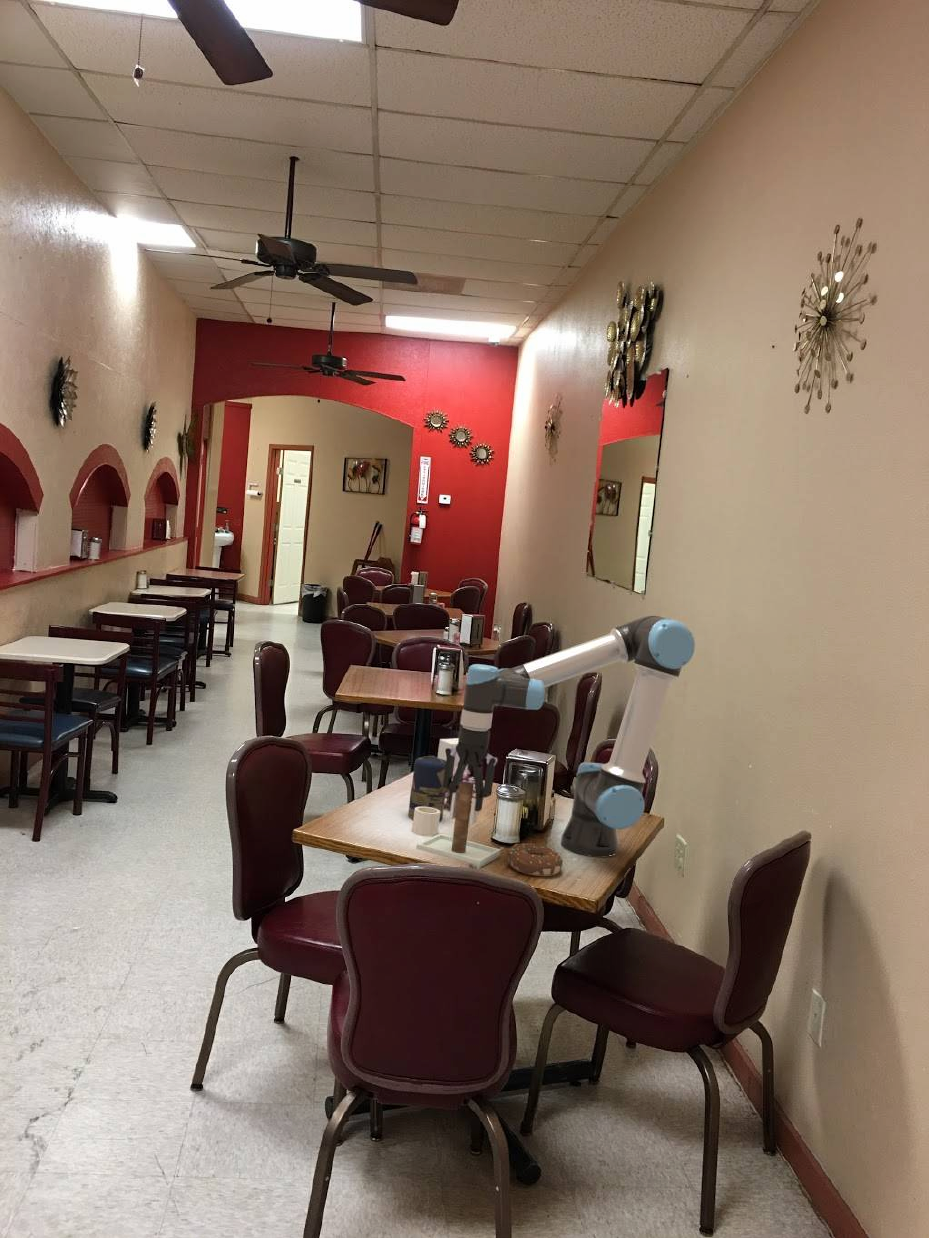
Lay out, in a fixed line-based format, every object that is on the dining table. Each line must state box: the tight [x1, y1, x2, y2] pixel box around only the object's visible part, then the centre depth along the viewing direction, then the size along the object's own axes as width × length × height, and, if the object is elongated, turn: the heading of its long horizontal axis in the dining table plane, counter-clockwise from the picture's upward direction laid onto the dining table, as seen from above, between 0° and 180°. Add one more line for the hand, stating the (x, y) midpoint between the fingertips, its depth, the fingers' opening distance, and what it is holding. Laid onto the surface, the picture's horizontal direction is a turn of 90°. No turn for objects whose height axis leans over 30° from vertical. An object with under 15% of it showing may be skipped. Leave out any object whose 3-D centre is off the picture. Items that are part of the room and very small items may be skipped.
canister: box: [407, 755, 446, 823], centre depth 276 cm, size 10×10×18 cm
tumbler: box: [411, 807, 440, 837], centre depth 263 cm, size 7×7×6 cm
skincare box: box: [437, 737, 469, 772], centre depth 316 cm, size 8×7×16 cm
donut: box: [505, 842, 564, 877], centre depth 246 cm, size 14×14×5 cm
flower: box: [445, 768, 476, 807], centre depth 294 cm, size 12×12×12 cm
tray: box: [415, 833, 502, 869], centre depth 250 cm, size 17×13×2 cm
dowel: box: [452, 781, 475, 853], centre depth 250 cm, size 4×4×17 cm
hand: (462, 820), depth 250 cm, fingers open, 5 cm apart
